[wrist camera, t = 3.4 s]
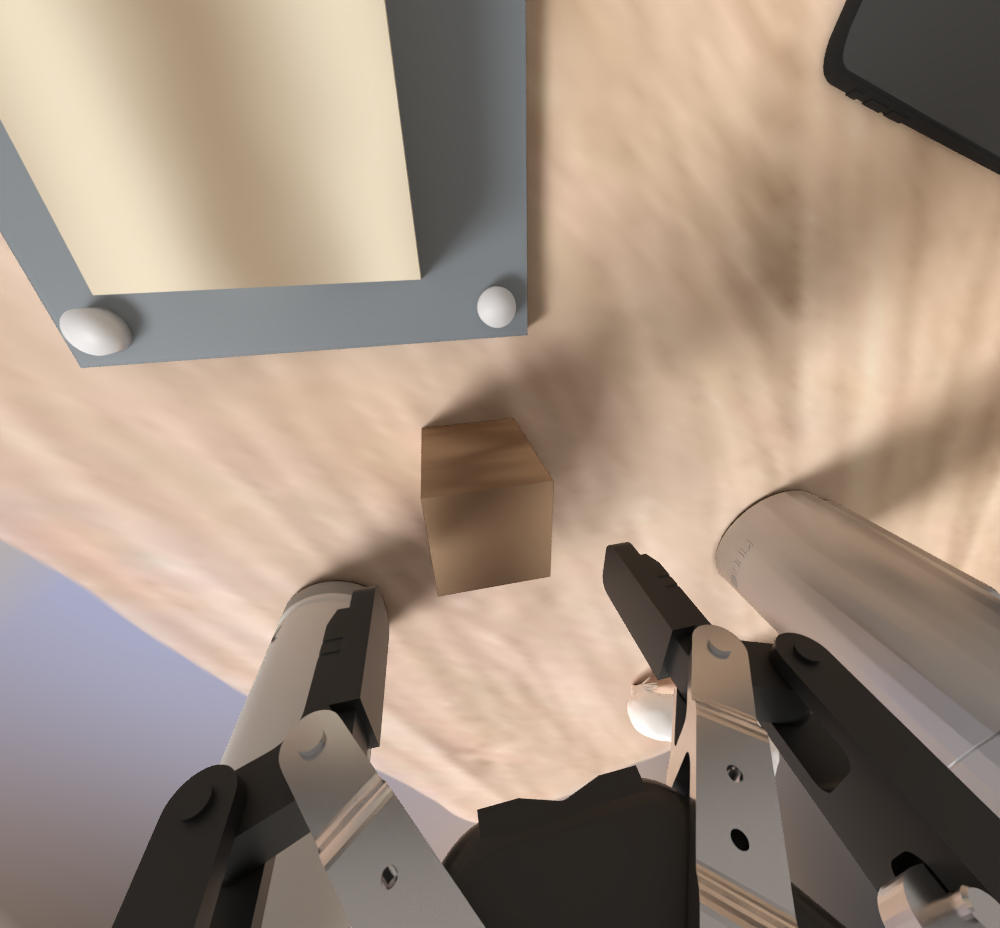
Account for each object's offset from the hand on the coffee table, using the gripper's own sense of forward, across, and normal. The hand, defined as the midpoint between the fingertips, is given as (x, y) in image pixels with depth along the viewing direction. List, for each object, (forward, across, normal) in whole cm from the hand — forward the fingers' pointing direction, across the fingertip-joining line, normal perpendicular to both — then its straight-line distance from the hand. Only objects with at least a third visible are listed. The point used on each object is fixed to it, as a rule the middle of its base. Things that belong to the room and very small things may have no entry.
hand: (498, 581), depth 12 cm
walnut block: (+9, 0, 0) cm, 9 cm away
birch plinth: (+8, +6, -14) cm, 17 cm away
